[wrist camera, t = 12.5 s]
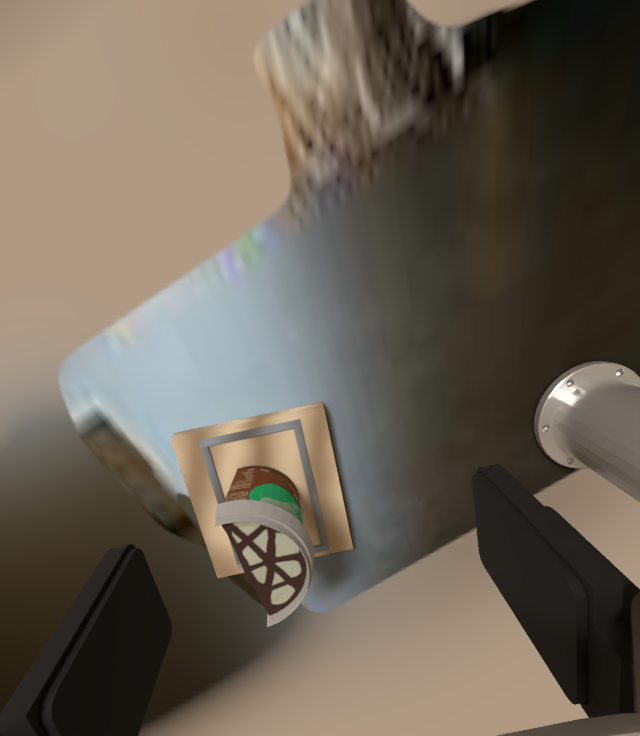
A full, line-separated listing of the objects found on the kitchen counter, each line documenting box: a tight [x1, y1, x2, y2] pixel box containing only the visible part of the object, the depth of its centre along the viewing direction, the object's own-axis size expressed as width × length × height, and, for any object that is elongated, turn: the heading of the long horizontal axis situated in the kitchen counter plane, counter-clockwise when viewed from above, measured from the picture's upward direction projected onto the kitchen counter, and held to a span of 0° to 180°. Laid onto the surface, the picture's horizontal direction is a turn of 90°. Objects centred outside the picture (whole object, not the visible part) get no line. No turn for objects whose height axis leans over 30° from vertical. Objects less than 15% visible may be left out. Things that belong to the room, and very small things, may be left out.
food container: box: [215, 466, 315, 627], centre depth 35 cm, size 12×6×10 cm, turn 19°
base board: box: [170, 402, 353, 578], centre depth 41 cm, size 16×18×2 cm
